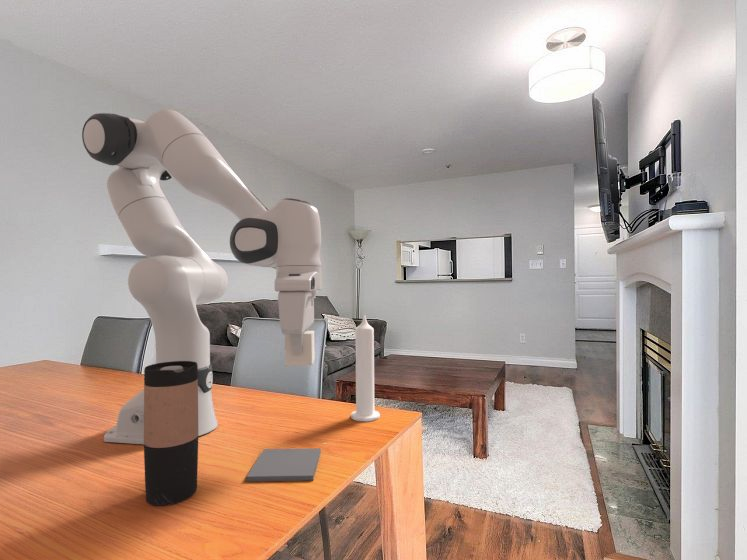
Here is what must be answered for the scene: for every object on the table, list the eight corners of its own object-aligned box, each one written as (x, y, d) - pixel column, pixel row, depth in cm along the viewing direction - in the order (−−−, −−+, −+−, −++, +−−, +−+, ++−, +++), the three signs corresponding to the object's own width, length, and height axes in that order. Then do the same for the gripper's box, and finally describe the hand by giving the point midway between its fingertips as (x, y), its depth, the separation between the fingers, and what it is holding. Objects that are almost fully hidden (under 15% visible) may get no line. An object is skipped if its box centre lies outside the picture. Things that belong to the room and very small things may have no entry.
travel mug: (157, 482, 66) (157, 361, 66) (205, 480, 66) (205, 360, 66) (133, 508, 58) (133, 371, 58) (188, 505, 59) (187, 369, 59)
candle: (376, 422, 93) (375, 316, 94) (347, 420, 95) (346, 315, 95) (382, 413, 100) (381, 313, 101) (354, 411, 102) (354, 313, 102)
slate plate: (246, 481, 66) (246, 476, 66) (263, 453, 77) (263, 449, 77) (313, 480, 66) (313, 475, 66) (320, 452, 77) (320, 448, 77)
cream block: (285, 365, 75) (285, 334, 76) (289, 360, 80) (289, 331, 80) (311, 365, 76) (311, 333, 76) (314, 360, 81) (314, 330, 81)
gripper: (291, 282, 88) (292, 344, 88) (272, 281, 68) (272, 362, 68) (320, 282, 89) (321, 344, 89) (309, 280, 68) (310, 361, 68)
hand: (300, 352), depth 78 cm, fingers closed on cream block, 5 cm apart
